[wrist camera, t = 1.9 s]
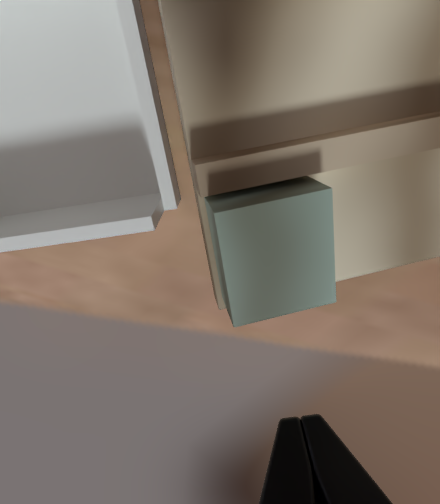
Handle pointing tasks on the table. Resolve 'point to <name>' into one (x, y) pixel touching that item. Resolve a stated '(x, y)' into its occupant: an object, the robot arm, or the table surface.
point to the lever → (308, 142)
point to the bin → (79, 124)
